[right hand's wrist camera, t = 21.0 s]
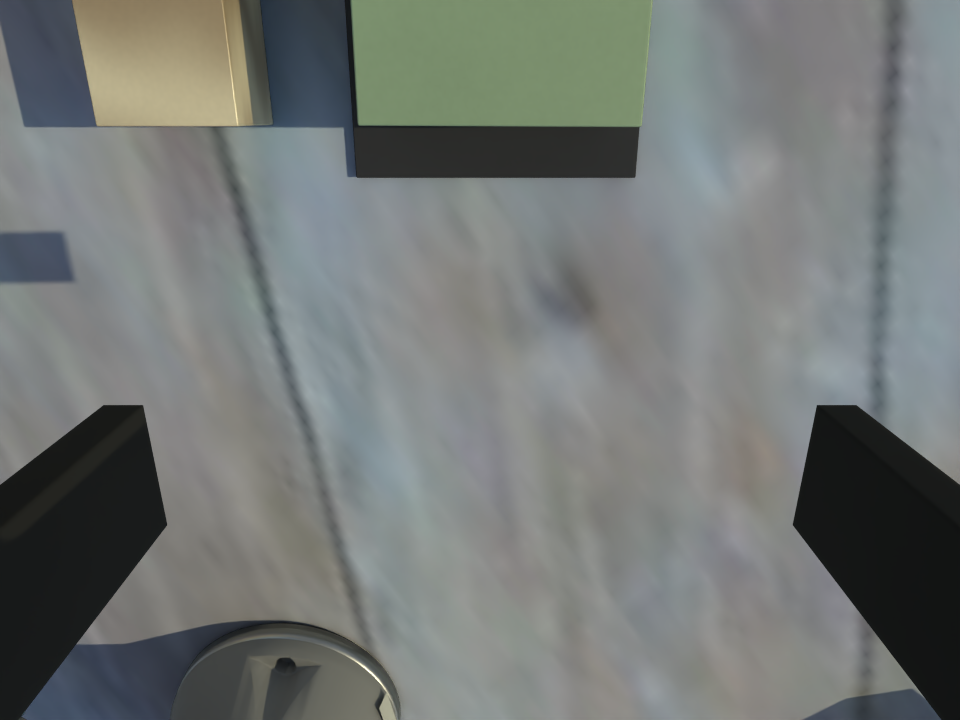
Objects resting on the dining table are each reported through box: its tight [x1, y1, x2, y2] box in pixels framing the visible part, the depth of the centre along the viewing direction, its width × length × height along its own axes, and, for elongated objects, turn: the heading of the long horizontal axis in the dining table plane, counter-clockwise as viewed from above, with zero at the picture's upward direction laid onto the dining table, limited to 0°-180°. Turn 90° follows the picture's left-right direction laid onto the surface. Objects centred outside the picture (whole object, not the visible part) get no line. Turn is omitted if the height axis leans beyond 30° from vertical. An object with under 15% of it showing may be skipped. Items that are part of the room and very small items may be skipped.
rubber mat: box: [345, 0, 639, 178], centre depth 30 cm, size 14×14×1 cm
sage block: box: [351, 0, 653, 127], centre depth 27 cm, size 9×11×7 cm
